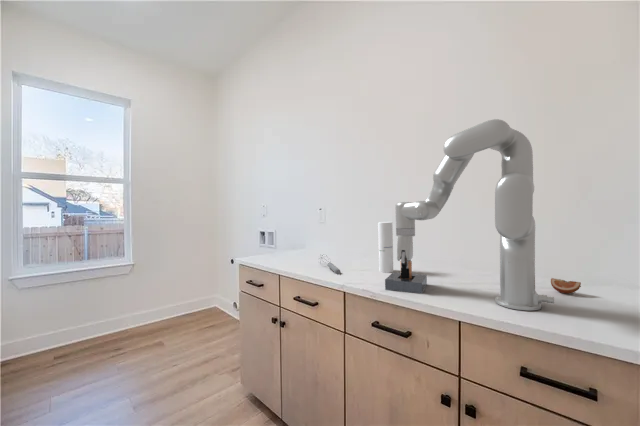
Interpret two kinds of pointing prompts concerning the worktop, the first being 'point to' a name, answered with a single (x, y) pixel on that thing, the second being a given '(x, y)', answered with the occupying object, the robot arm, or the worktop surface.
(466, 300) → the worktop surface
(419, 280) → the socket block
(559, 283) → the fruit slice
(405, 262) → the plug
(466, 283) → the worktop surface
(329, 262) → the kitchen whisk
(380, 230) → the cylindrical container
